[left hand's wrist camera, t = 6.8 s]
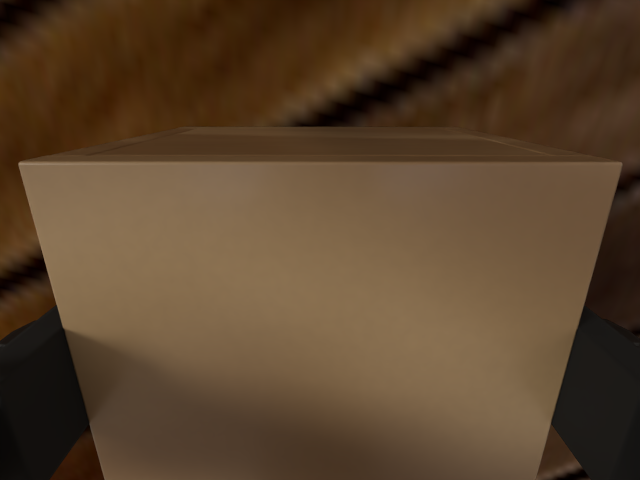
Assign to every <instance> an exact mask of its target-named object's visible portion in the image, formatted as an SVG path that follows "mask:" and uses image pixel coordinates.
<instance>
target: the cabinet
mask: <svg viewBox="0 0 640 480" xmlns="http://www.w3.org/2000/svg"><path fill="white" fill-rule="evenodd" d="M622 166H623V165H622V163H621V162H619V161H615V160H610V159H605V158H601V157H596V156H590V155H587V154H582V153H577V152H572V151H568V150H563V149H558V148H554V147H549V146H544V145H539V144H535V143H530V142H525V141H521V140H516V139H511V138H506V137H502V136H497V135H492V134H488V133H483V132H478V131H473V130H469V129H464V128H459V127H181V128H176V129H172V130H167V131H162V132H157V133H153V134H148V135H143V136H139V137H134V138H129V139H124V140H120V141H115V142H110V143H105V144H101V145H96V146H91V147H87V148H82V149H77V150H72V151H68V152H63V153H58V154H53V155H51V156H43V157H38V158H34V159H29V160H24V161H21V162H19V169H20V172H21V176H22V180H23V183H24V187H25V191H26V194H27V198H28V201H29V205H30V209H31V212H32V216H33V220H34V223H35V227H36V231H37V234H38V238H39V242H40V245H41V249H42V253H43V256H44V260H45V263H46V267H47V271H48V274H49V278H50V282H51V285H52V289H53V293H54V296H55V300H56V304H57V307H58V311H59V314H60V318H61V322H62V325H63V329H64V333H65V336H66V340H67V344H68V347H69V351H70V355H71V358H72V362H73V366H74V369H75V373H76V376H77V380H78V384H79V387H80V391H81V395H82V398H83V402H84V406H85V409H86V413H87V417H88V420H89V424H90V428H91V431H92V435H93V438H94V442H95V446H96V449H97V453H98V457H99V460H100V464H101V468H102V471H103V475H104V479H105V480H536V477H537V473H538V469H539V466H540V462H541V459H542V455H543V451H544V448H545V444H546V441H547V437H548V433H549V430H550V426H551V422H552V419H553V415H554V412H555V408H556V404H557V401H558V397H559V394H560V390H561V386H562V383H563V379H564V375H565V372H566V368H567V365H568V361H569V357H570V354H571V350H572V347H573V343H574V339H575V336H576V332H577V328H578V325H579V321H580V318H581V314H582V310H583V307H584V303H585V300H586V296H587V292H588V289H589V285H590V281H591V278H592V274H593V271H594V267H595V263H596V260H597V256H598V253H599V249H600V245H601V242H602V238H603V234H604V231H605V227H606V224H607V220H608V216H609V213H610V209H611V206H612V202H613V198H614V195H615V191H616V187H617V184H618V180H619V177H620V173H621V169H622Z"/></svg>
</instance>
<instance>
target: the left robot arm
mask: <svg viewBox="0 0 640 480" xmlns="http://www.w3.org/2000/svg"><path fill="white" fill-rule="evenodd" d="M88 424H89V420H88V417H87V413H86V409H85V406H84V402H83V398H82V395H81V391H80V387H79V384H78V380H77V376H76V373H75V369H74V366H73V362H72V358H71V355H70V351H69V347H68V344H67V340H66V336H65V333H64V329H63V325H62V322H61V318H60V314H59V311H58V307H57V305H56V306H55V307H53V308H52V309H51V310H49V311H48V312H47V313H46V314H44V315H43V316H42V317H41V318H39V319H38V320H37V321H33V322H31V323H29V324H27V325H25V326H23V327H21V328H19V329H17V330H15V331H13V332H11V333H10V334H9V335H7V336H6V337H5V338H3V339H2V340H1V341H0V480H49V479H50V478H51V477H52V475H53V474H54V472H55V471H56V469H57V468H58V467H59V465H60V464H61V462H62V461H63V460H64V458H65V457H66V455H67V454H68V453H69V451H70V450H71V448H72V447H73V446H74V444H75V443H76V441H77V440H78V439H79V437H80V436H81V434H82V433H83V432H84V430H85V429H86V427H87V426H88ZM551 424H552V425H553V427H554V428H555V430H556V431H557V432H558V434H559V435H560V437H561V438H562V439H563V441H564V442H565V444H566V445H567V446H568V448H569V449H570V451H571V452H572V453H573V455H574V456H575V458H576V459H577V460H578V462H579V463H580V465H581V466H582V467H583V469H584V470H585V472H586V473H587V475H588V476H589V477H590V479H591V480H640V338H638V337H637V336H636V335H634V334H633V333H632V332H630V331H629V330H627V329H625V328H623V327H621V326H619V325H617V324H615V323H613V322H611V321H609V320H607V319H601V318H600V317H599V316H597V315H596V314H595V313H594V312H592V311H591V310H590V309H588V308H587V307H586V306H585V305H584V307H583V310H582V314H581V318H580V321H579V325H578V328H577V332H576V336H575V339H574V343H573V347H572V350H571V354H570V357H569V361H568V365H567V368H566V372H565V375H564V379H563V383H562V386H561V390H560V394H559V397H558V401H557V404H556V408H555V412H554V415H553V419H552V422H551Z"/></svg>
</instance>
